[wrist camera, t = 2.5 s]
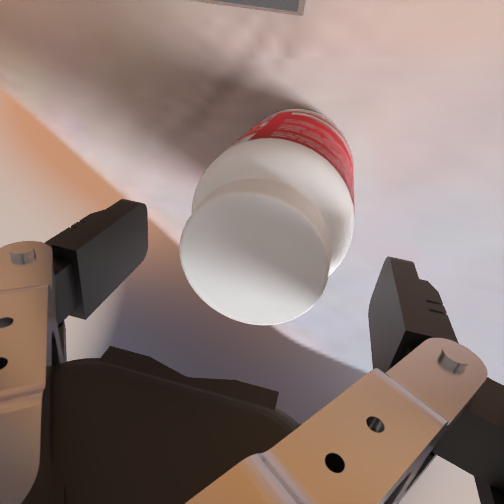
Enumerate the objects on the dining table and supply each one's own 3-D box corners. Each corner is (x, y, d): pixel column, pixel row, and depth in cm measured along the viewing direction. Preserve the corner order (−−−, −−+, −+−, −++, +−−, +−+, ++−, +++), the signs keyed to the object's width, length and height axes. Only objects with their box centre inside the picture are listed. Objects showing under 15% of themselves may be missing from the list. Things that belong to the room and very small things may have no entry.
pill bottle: (272, 84, 19) (194, 121, 9) (376, 142, 19) (404, 234, 9) (226, 186, 22) (134, 289, 13) (316, 234, 22) (291, 372, 13)
